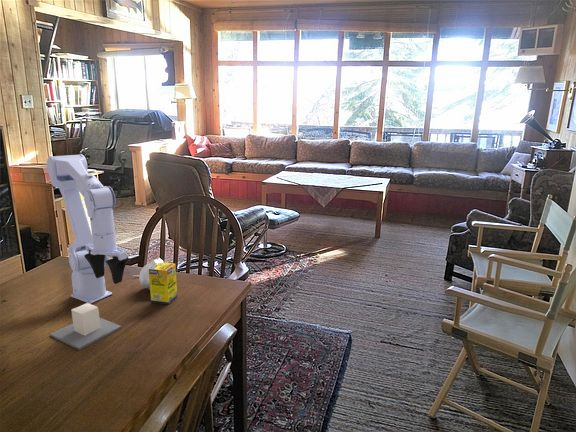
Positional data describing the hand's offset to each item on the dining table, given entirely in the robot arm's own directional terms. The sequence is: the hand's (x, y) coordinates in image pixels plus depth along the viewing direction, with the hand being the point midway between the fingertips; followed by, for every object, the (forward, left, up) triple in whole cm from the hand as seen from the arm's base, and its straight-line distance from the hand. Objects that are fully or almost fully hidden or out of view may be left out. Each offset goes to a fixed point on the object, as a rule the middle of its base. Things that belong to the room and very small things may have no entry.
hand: (108, 279), depth 115 cm
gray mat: (+3, -10, -10) cm, 15 cm away
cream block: (+3, -10, -10) cm, 14 cm away
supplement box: (+6, +14, -11) cm, 19 cm away
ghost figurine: (-2, +18, -11) cm, 21 cm away
